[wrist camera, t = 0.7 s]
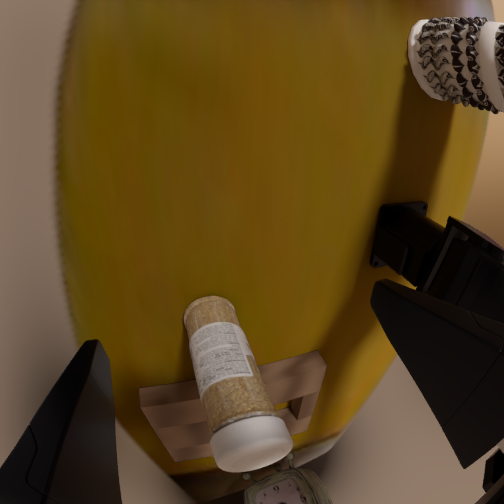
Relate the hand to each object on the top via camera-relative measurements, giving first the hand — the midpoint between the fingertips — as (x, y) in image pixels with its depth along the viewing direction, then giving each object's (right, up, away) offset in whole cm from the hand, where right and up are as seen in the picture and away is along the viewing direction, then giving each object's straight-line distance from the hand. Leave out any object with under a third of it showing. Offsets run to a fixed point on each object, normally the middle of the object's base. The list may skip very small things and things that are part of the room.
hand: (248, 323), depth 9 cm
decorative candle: (+17, +20, +10) cm, 29 cm away
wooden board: (-2, -18, +25) cm, 31 cm away
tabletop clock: (+4, -42, +41) cm, 59 cm away
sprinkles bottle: (-4, -3, +16) cm, 17 cm away
